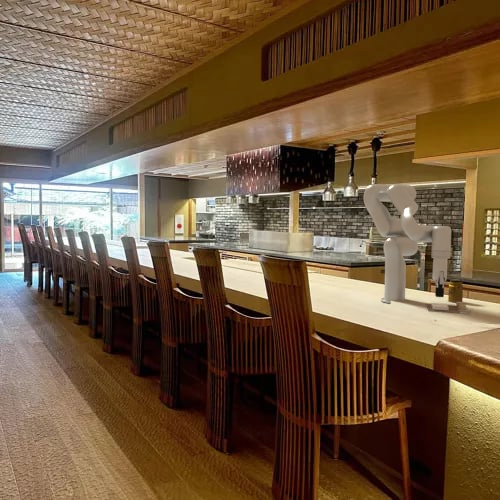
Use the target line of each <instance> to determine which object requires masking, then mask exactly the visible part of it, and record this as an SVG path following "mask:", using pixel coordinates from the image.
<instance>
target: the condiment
mask: <svg viewBox="0 0 500 500" xmlns="http://www.w3.org/2000/svg"><path fill="white" fill-rule="evenodd" d="M463 292H464V286H463V280H462V279H457V278H456V279H455V278H452V279H451V278H450V279H449V284H448V294H447V295H448V297H447V299H448V303H452V304H456V302H463V299H464V297H463V296H464V295H463V294H464V293H463Z"/></svg>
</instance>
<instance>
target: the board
mask: <svg viewBox="0 0 500 500" xmlns="http://www.w3.org/2000/svg"><path fill="white" fill-rule="evenodd" d="M424 304H425V306H426V309H427V311H428V312H429V313H445V314H458V315H459V314H461V313H460V312H459V311H458V310H459V309H458V308H457V307H456V305H452V304H451V305H449V304H447V306H448V311H442V310H433V309H432V307H431V303H424ZM466 310H468V309H467V308H466Z"/></svg>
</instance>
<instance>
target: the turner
mask: <svg viewBox="0 0 500 500" xmlns="http://www.w3.org/2000/svg"><path fill="white" fill-rule="evenodd" d="M455 306H456V307H457V308H458V309H459V310H458V311H459V312H460V313H461V314H463V315H472V313H471V311H469V310H468V309H467V305H466V304H465V303H464V302H463V301H462V302H456V303H455ZM466 309H467V310H466Z"/></svg>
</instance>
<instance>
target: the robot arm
mask: <svg viewBox="0 0 500 500" xmlns="http://www.w3.org/2000/svg"><path fill="white" fill-rule="evenodd" d="M416 197H417V191H416V189H415V187H413V186H412V185H410V184H402V183H401V184H399V183H396V184H382V183H381V184H380V183H374V184H370V185H368V186H367V187H366V188H365V189H364V192H363V203H364V206H365V208H366V210H367V212H368V213H369V215H370V217H371V219H372V221H373V223H374V225H375V227H376V229H377V231H378V233H379V235H380V236H381V237H383V238H387V239H386V240H385V241H384V243H383V254H384V295H383V296H384V297H381V298H380V301H381V302H382V303H387V304H391V301H394V302H399V301H400V302H402V301H403V302H404V301H406V281H407V280H406V279H407V278H406V277H407V276H406V275H407V265H406V260H405V258H404V257H411V256H414V255H416V254H417V252H418V249H419V243H431V259H433V260H432V261H433V262H432V273H431V274H432V275H431V276H432V277H431V278H432V280H433V281H434V282H435V292H434V293H435V294H434V295H435V297H436V298H444V296H445V282H446V281H447V277H448V260H449V259H451V250H452V229H451V227H450V226H449V225H448V226H447V225H446V226H445V225H427V224H426V225H421V224H419V223H418V222H417V220H416V219H415V218H414V215H415V214H416V213H417V212H418V210H419V205H418V203H417V202H416V201H415V199H417V198H416ZM382 202H388V203H392V205H393V206H394V208H395V209H396V210H397V212H398V213H399V214H400V216H401V217H400V218H398V217H397V218H396V217H392V216H391V213H390V212H389V210H388V207H387V206H385V205H384V204H383V203H382Z"/></svg>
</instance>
